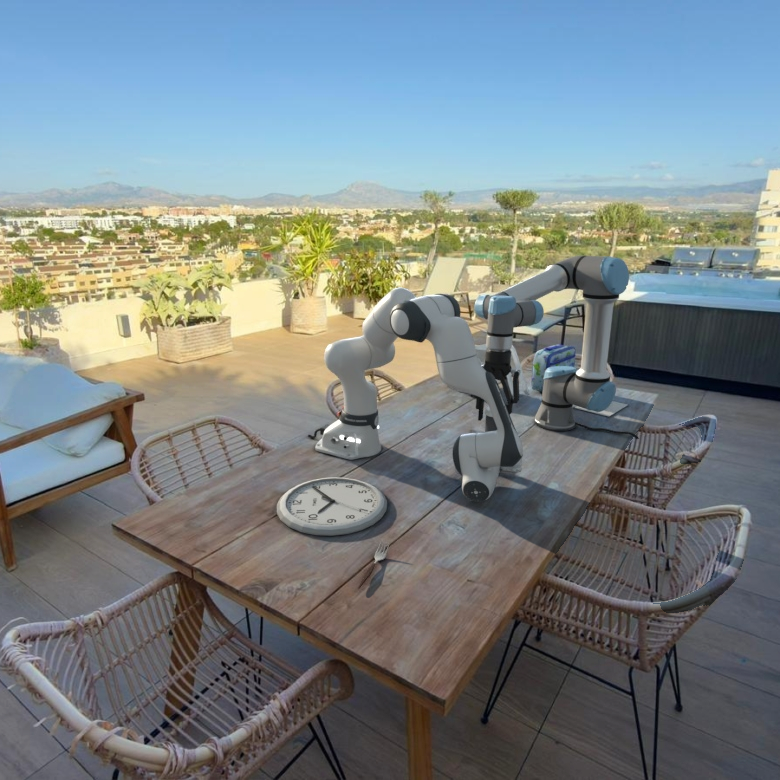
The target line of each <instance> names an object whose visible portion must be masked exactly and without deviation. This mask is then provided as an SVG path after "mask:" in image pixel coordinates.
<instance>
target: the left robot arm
mask: <svg viewBox="0 0 780 780" xmlns="http://www.w3.org/2000/svg"><path fill="white" fill-rule="evenodd" d="M461 314H462V313H461V306H460V303H459V302H458V300H457V298H455V297H454V296H453V295H450V294H447V293H435V294H428V295H427V294H426V295H422V296H418V297H416V296H415V294H414V293H413V292H412V291H410V290H409V289H407V288H405V287H395V288H393V289H392V290H390V291H389V292H387V294H385V295H384V296H383V297H382V298H381V299H380V300H379V301H378V302H377V304H376V305H375V306H374V307H373V309H372V310H371V311H370V313H369V314H368V315H367V316H366V317H365V319H364V320H363V323H362V325H361V326H362V327H361V329H362V330H361V331H362V335H360V336H356V337H350V338H349V337H348V338H342V339H338V340H337V341H333V342H332V343H329V344H328V345H327V346H326V347H325V349H324V353H323V361H324V364H325V366H326V368H327V369H328V370H329V371H330V373H331V374H334V376H336V378H338V380H339V382H340V385H341V387H342V394H343V406H342V407H341V408H340V410H339V411H338V412H337V415H336V417H337V418H338V419H337V420H335V421H334V422H332V423H331V424H328V423H327V424H325V425H323V426H321V427H319V428H317V429H315V430H314V433H313V435H311V434H308V435H307V437H308V438H310V439H315V438H316V437H317V435H318V432H320V433H319V434H320V435H321V436H322V438H321V439H319V440H318V441H317V443H316V444H315V448H314V449H315V451H316V452H318V453H324V454H327V455H331V456H334V457H338V458H342V459H346V460H349V461H353V460H357V459H360V458H368V457H369V458H370V457H372V456H375V455H377V454H379V453H380V452H381V451H382V445H381V443H380V438H379V430H378V429H380V425H379V417H380V416H379V409H378V389H377V386H375V384H374V383H373V382H371V381H369V380H367V379H366V374H365V373H366V371H369V370H373V369H378V368H381V367H384V366H386V365H388V364H390V363H391V362H393V360H394V358H395V355H396V345H395V341H396V340H397V339H398V338H399V339H400V340H401V339H402V340H406V341H412V342H416V343H419V344H420V343H423V342H424V341H425V340H427V341H428V342H429V343H430V344H431V346H433V351H434V357H435V362H436V363H435V364H436V367H437V373H438V375H439V378H440V381H442V383H443V384H444V385H445V386H446V387H448V388H450V389H452V390H453V391H456V392H460V393H464V394H469V395H471V394H472V395H476V396H478V397H480V398H481V399H484V402H485V403H486V404H487V405H488V407H489V408H490V410H491V413H492V416H493V418H494V421H495V424H496V426H497V430H496V431H489V432H485V431H480V432H471V433H470V432H469V433H462V434H459V436H458V437H457V438H456V440H455V441H454V443H453V447H452V461H453V465H454V472H455V474H457V475H460V476H461V479H462V481H461V490H462V495H464V497H465V498H466V499H467V500H469V501H471V502H474V503H483V502H485V501H487V500H488V499H489V498H491V496H492V495H493V493H494V491H495V488H496V485H497V480H498V478H499V474H500V473H502V474H509V475H516V474H518V473H521V472H522V469H523V468H522V464H523V456H524V454H523V453H524V448H523V442H522V440H521V438H520V435H519V434H518V432H517V429H516V428H515V425H514V423H513V420H512V417H511V414H509V412H508V409H507V406H506V403H507V402H506V401H505V398H504V396H503V392H502V390H501V388H500V386H499V383H498V380H496V379H495V377H494V376H493V374H492V373H490V372H487V371H486V370H485V369H484V368H483V367H482V366H481V364H480V362H479V360H478V357H477V352H476V347H475V346H476V343H475V340H474V337H473V334H472V331H471V328H470V326H469V323H468V322H467V320H466V319H464V318H462V317H461Z"/></svg>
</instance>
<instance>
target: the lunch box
mask: <svg viewBox="0 0 780 780" xmlns="http://www.w3.org/2000/svg"><path fill="white" fill-rule="evenodd" d="M576 357H577V355H576V347H575V346H569V345H565V344H554V345H550V346H547V347H544V348H542V349H541V348H540V349H539V350H537V351H536V352H535V353H534V356H533V360H532V367H531V368H532V369H531V382H530V383H531V386H530V387H531V389H532V390H533V391H537V392H542V391H543V381H544V379H543V378H544V375H545V370H546V369H547V368H549V367H555V366H571V367H575V364H576Z"/></svg>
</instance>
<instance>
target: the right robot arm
mask: <svg viewBox="0 0 780 780" xmlns="http://www.w3.org/2000/svg"><path fill="white" fill-rule="evenodd" d="M629 281H630V271H629V267H628V265H627V263H626V262H625V261H624V259H622V258H620V257H613V256H601V255H583V254H582V255H581V254H580V255H575V256H571V257H568V258H564V259H561V260H559V261H557V262H555V263H553V264H550V265H549V266H547V267H546V268H545V270H544V271H542V272H540V273H538V274H536V275H533V276H532V277H530V278H527V279H525V280H523V281H520V282H518V283H517V284H514V285H512V286H510V287H508V288H506V289H503V290H502V291H499V292H498V293H494V294H492V295H490V294H481V295H479V296H478V297H477V298H476V299H475V303H474V306H473V307H474V313H475V315H476V316H477V317H478V318H481V319H485V320H487V329H486V330H487V331H486V341H485V344H486V347H487V349H486V353H485V363H484V365H481V366H482V367H483V368H484V369H485V370H486V371H487V372H490V373H492V374H493V376H494V377H495V379H496V381H500V384H501V386H502V390H503V392H504V396H505V399H506V402H505V403H506V406H507V409H508V412H509V414H510V415H512V412H513V408H514V407H513V406H514V404H515V405H516V404H518V403H519V402H520V379H519V375H520V370H517V369H514V368H513V367H512V365H511V360H512V359H511V350H510V349H511V348H512V345H513V339H514V338H513V337H514V328H521V327H522V328H523V327H531V326H534V325H537V324H539V323H540V322H541V321H542V320H543V318H544V314H545V310H544V306H543V304H542V303H541V302H539V301H538V300H539V299H540V298H543V297H545V296H547V295H549V294H551V293H553V292H556V293H557V292H561V291H564V290H579V291H582V299H583V300H584V301H585V302H586V304H585V305H586V306H585V317H584V329H583V339H582V347H581V348H582V350H581V361H580V367H579V369H578V368H577V367H576V366H574V367H571V366H555V367H549V368H547V369H546V370H545V375H544V378H543V379H544V381H543V391H541V393H542V394H541V402H540V405H539V407H538V410H537V411H536V413H535V416H534V424H535V425H536V426H537V427H539V428H542V429H544V430H549V431H556V432H567V431H572V430H574V429H575V428H576V426H578V427H581V428H583V429H586V430H589V431H594V432H595V431H597V432H598V431H599V432H606V433H611V434H615V435H629V436H632V437H633V438H634V439H636V440H639V439H640V438H639V436H638V435H637V434H636V433H634V432H631V431H619V430H618V431H617V430H613V429H608V428H602V427H591V426H588V425H586V424H582V423H580V422H577V421H576V418H575V417H576V416H575V413H574V407H573V406H575V407H576V406H579V407H582V408H585V409H587V410H592V411H596V412H601V411H603V410H605V409H606V408H607V407H608V406H609V405H610V404H611V402H612V401H614V398H615V396H616V392H617V386H616V384H615V383H614V382H613V381H611V373H610V372H609V371H608V370H607V367H608V358H609V349H610V339H611V330H612V321H613V311H614V303H615V302H616V301H618V300H619V299H620V295H621V294H623V293H624V292H625V291H626V290H627V287H628V285H629ZM509 373H510V375H511V378H512V381H513V395H512V394H511V391H510V387H509V384H508V379H507V375H508V374H509ZM470 397H472V398H475V400H476V401H475V409H476V410H478V414H477V415H478V416H477V421H482V419H484V410H485V409H484V407H485V400H484V399H482V398H480V397H478V396H476V395H472V394H470Z"/></svg>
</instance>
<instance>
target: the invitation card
mask: <svg viewBox="0 0 780 780" xmlns="http://www.w3.org/2000/svg"><path fill="white" fill-rule="evenodd" d="M628 406H629V404H627V403H623V402H618V401H614V400H613V401H612V402H611V404H610V405H609V406H608V407H607V408H606V409H605V410H603V411H601V412H596V411H592V410H587V409H585V408H582V407H579V406H576V405H575V406H574V407H573V409H575V410H581V411H584V412H587V413H593V414H596V415H600V416H604V417H608V418H609V417H611V416H613V415H614V414H616V413H617V412H619V411H621V410H623V409H624V408H626V407H628Z"/></svg>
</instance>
